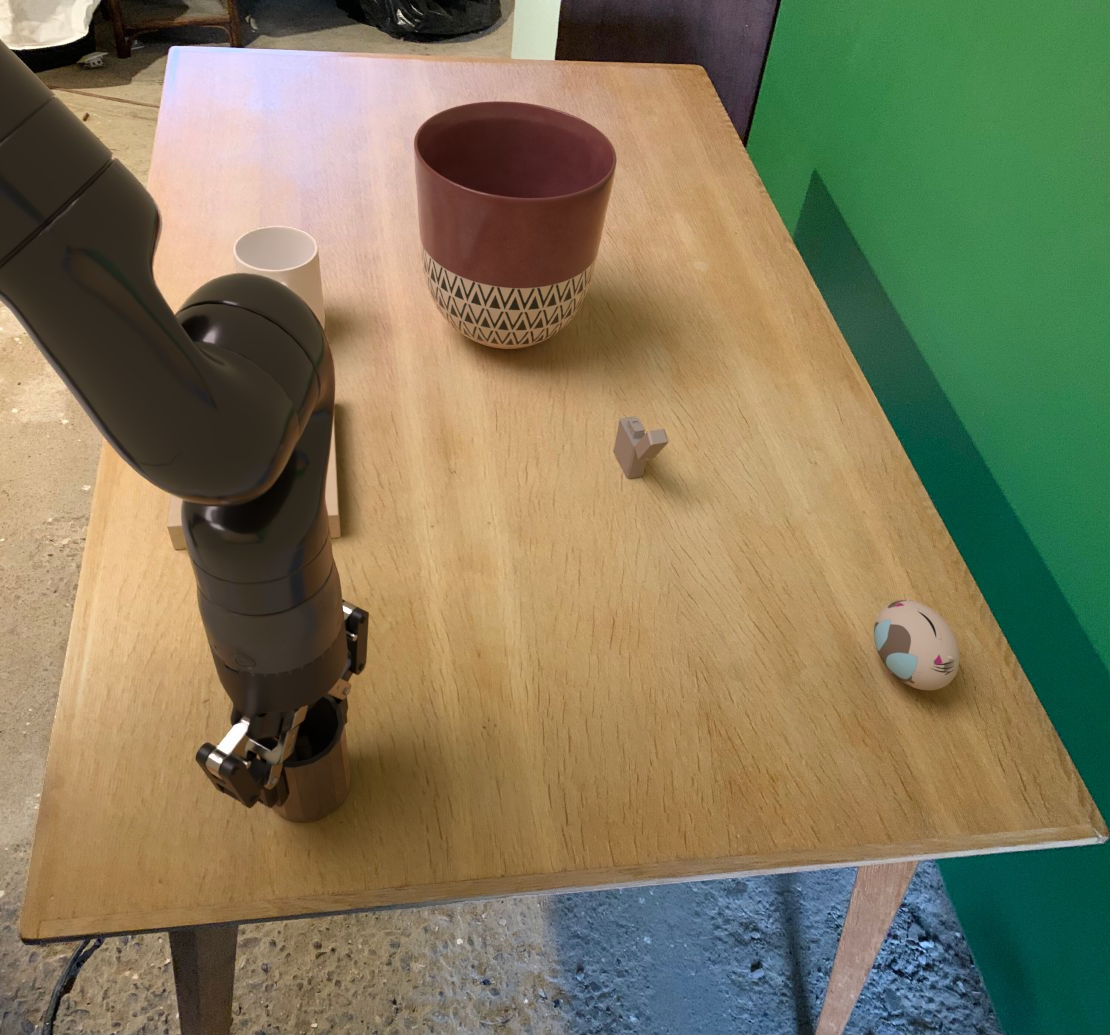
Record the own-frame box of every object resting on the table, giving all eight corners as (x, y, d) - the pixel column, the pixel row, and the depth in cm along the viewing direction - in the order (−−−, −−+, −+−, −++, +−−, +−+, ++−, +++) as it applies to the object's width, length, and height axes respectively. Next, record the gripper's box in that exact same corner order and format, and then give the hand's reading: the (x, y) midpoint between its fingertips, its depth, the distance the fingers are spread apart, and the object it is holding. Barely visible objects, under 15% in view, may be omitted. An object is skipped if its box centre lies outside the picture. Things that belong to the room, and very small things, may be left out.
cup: (320, 303, 106) (312, 222, 99) (336, 371, 99) (328, 288, 91) (243, 310, 104) (229, 228, 97) (254, 380, 97) (239, 296, 89)
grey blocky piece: (612, 450, 95) (624, 388, 89) (628, 447, 95) (641, 386, 90) (638, 500, 91) (652, 439, 85) (654, 497, 91) (670, 437, 85)
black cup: (316, 837, 65) (305, 783, 60) (246, 796, 67) (229, 739, 61) (367, 768, 69) (361, 711, 63) (300, 731, 71) (288, 672, 65)
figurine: (845, 639, 82) (872, 591, 77) (903, 624, 84) (932, 577, 79) (895, 717, 77) (927, 672, 72) (955, 701, 79) (990, 655, 74)
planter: (400, 287, 110) (395, 105, 94) (558, 272, 115) (579, 96, 100) (438, 395, 98) (440, 206, 82) (613, 372, 103) (646, 191, 88)
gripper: (300, 508, 59) (322, 659, 71) (127, 678, 49) (187, 818, 62) (403, 557, 57) (406, 705, 69) (243, 744, 48) (280, 875, 60)
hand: (302, 758), depth 65 cm, fingers closed on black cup, 6 cm apart
